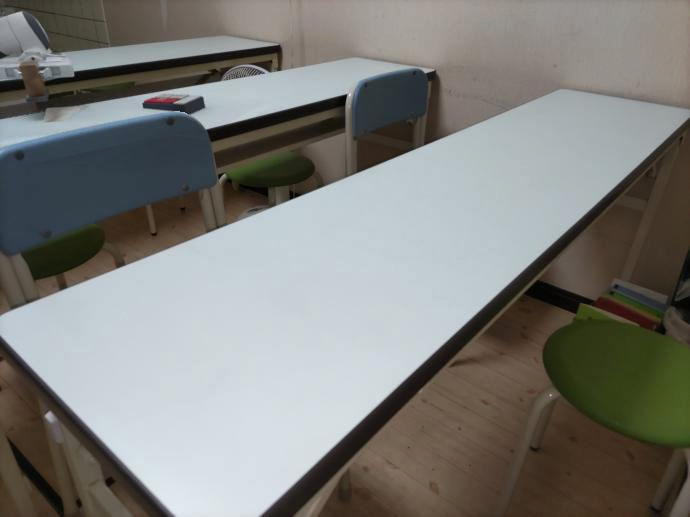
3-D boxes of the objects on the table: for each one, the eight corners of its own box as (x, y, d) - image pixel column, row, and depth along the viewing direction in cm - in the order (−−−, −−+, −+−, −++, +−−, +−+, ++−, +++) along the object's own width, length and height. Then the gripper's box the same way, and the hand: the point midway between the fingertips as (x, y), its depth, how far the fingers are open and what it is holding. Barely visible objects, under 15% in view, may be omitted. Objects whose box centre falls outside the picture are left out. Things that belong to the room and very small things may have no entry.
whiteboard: (42, 127, 140) (41, 122, 139) (46, 111, 152) (45, 107, 152) (120, 121, 147) (119, 117, 146) (118, 107, 159) (117, 103, 159)
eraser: (26, 102, 138) (15, 67, 133) (30, 94, 146) (20, 60, 141) (47, 101, 140) (37, 66, 135) (49, 92, 148) (40, 59, 143)
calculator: (162, 92, 162) (203, 93, 158) (165, 106, 165) (205, 107, 160) (140, 100, 153) (183, 102, 149) (144, 114, 156) (186, 116, 151)
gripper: (-9, 55, 144) (-17, 64, 134) (71, 53, 152) (70, 62, 141) (-2, 78, 148) (-9, 89, 137) (76, 75, 155) (75, 85, 144)
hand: (31, 75), depth 139 cm, fingers closed on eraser, 4 cm apart
